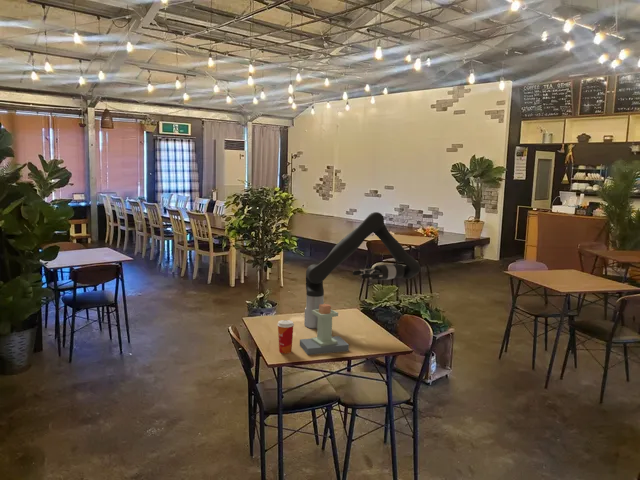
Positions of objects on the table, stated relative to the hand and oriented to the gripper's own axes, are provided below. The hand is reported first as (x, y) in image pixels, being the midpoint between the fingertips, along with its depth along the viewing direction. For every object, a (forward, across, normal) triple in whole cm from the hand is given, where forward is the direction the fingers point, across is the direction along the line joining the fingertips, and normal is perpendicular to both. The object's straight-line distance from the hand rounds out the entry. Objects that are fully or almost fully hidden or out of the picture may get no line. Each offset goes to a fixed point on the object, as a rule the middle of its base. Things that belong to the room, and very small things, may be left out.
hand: (357, 274), depth 248 cm
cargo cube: (+21, +6, +16) cm, 27 cm away
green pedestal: (+21, +6, +30) cm, 36 cm away
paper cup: (+39, +2, +33) cm, 51 cm away
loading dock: (+21, +6, +32) cm, 39 cm away
